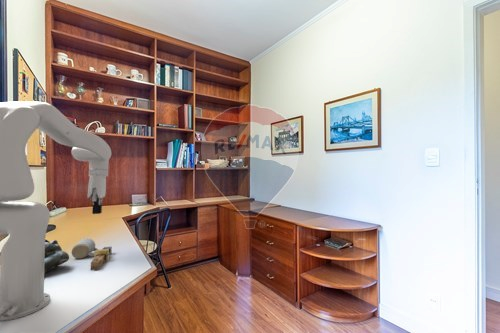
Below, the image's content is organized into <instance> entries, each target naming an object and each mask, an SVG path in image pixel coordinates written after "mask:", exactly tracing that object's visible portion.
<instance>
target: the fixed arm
mask: <svg viewBox="0 0 500 333" xmlns="http://www.w3.org/2000/svg"><path fill="white" fill-rule="evenodd" d="M102 249H105V248H104V247H102ZM101 255H102V254H100V255H97V256H96V257H95V258H93V259H92V261H90V270H91V271H96V270H95V262H96V261H97V260H98V258H99V257H100V256H101Z"/></svg>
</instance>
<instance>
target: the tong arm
mask: <svg viewBox="0 0 500 333" xmlns="http://www.w3.org/2000/svg"><path fill="white" fill-rule="evenodd" d="M105 262H107V261H106V254H102V255H101V256H100V257H99V258H98V260H97V261H96V262H95V270H94V271H99V270H100V268H102V266H103V264H105Z"/></svg>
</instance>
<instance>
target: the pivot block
mask: <svg viewBox="0 0 500 333" xmlns="http://www.w3.org/2000/svg"><path fill="white" fill-rule="evenodd" d="M103 248H105V249H109V256H111V255H112V249H113V248H112V246H104V247H103Z"/></svg>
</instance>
